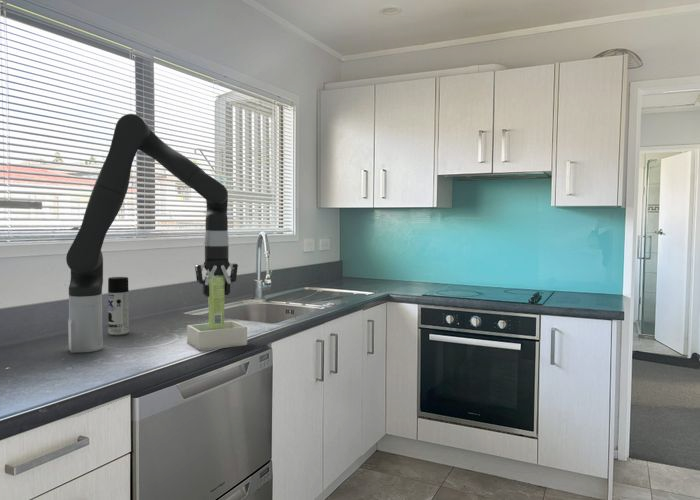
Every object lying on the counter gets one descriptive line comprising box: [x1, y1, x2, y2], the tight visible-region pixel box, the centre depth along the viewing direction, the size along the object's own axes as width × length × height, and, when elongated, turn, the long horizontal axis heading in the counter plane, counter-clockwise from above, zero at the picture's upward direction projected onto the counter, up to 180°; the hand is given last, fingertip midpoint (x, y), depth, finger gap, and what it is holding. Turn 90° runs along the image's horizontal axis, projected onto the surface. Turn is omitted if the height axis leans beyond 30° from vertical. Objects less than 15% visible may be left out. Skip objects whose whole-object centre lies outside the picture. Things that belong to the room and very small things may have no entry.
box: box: [186, 320, 248, 352], centre depth 174 cm, size 16×12×6 cm
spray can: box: [107, 276, 130, 336], centre depth 188 cm, size 7×7×20 cm
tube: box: [206, 269, 226, 329], centre depth 174 cm, size 6×5×20 cm
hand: (216, 295), depth 174 cm, fingers closed on tube, 6 cm apart
